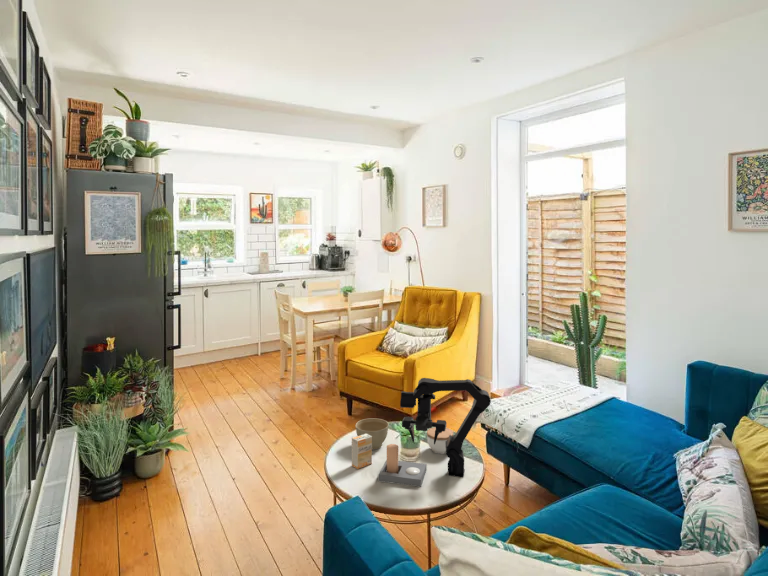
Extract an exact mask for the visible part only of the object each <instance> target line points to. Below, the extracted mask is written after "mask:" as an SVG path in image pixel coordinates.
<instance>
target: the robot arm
mask: <svg viewBox="0 0 768 576" xmlns="http://www.w3.org/2000/svg"><path fill="white" fill-rule="evenodd" d="M455 391H456V392H458V391H459V392H461V391H464V392H465V391H466V392H467V393H468V394H469V395H470V396H471V397H472V398H473V402H472V405H471V408H470V410H469V411H468V413H467V415H466V416H465V417H464V419H463V421H462V423H461V424H460V426H459V428H458V430H456V433H455V434H453V436H451V435H449V438H448V440H447V441H445V445H446V446H445V447H446V453H445V455H446V457H447V458H448V459H449V460H447V461H448V462H447V473H448V476H451V477H460V478H464V477H465V470H466V469H465V456H464V454H465V453H464V450H463V449H462V448H463V444H464V441H465V439H466V438H467V436H468V434H469V433H470V432H471V429H472V427H473V426H474V424H475V423H476V421H477V419H478V418H479V416H480V415H481V414H483V412H485V411H486V410H487V409H488V408H489V406H490V405H491V403H492V401H491V397H490V394H489V392H488V391H487V390H485V389H482V388H481V387H480V386H479V385H477V384H476V383H474V382H473V381H472V380H471V379H454V380H453V379H452V380H450V379H449V380H448V379H447V380H445V379H444V380H437V379H435V378H427V377H422V378H420V379H419V380H418V382H417V386H416V387H415V389H413V391H403V390H402V391H400V401H399V404H400V405H399V406H400V408H401V409H402V408H406V409H407V408H408V409H414V408H415V406H417V413H416V415H417V416H416V418H415V420H414V418H413V417H414V416H413V417H412V416H404V417H403V419H402V421H401V428H404V429H405V430H407V431H408V433H409V434H410V437H411V440H412V442H413V443H414V442H415V431H417V432H419V431H420V432H427V431H428V430H429V429H431V428H434V427H436V430H435V437H434V444H435V442H436V439H437V436H438V434H439V433H442V431H445V429H446V428H447V421H446V420H444V419H437V420H436V422H435V421H433V419H432V400H436V395H435V394H434V393H437V392H438V393H439V392H455Z"/></svg>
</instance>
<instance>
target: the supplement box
mask: <svg viewBox="0 0 768 576" xmlns="http://www.w3.org/2000/svg"><path fill="white" fill-rule="evenodd" d="M372 456H373V449H372V436H370V435H368V434H363V435H360V436H357V435H356V436H354V437H351V466H352V467H353V468H355V469H357V470H359V469H361V468H364V467H366V466H369V465H372V464H373V462H372V461H373V457H372Z"/></svg>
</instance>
